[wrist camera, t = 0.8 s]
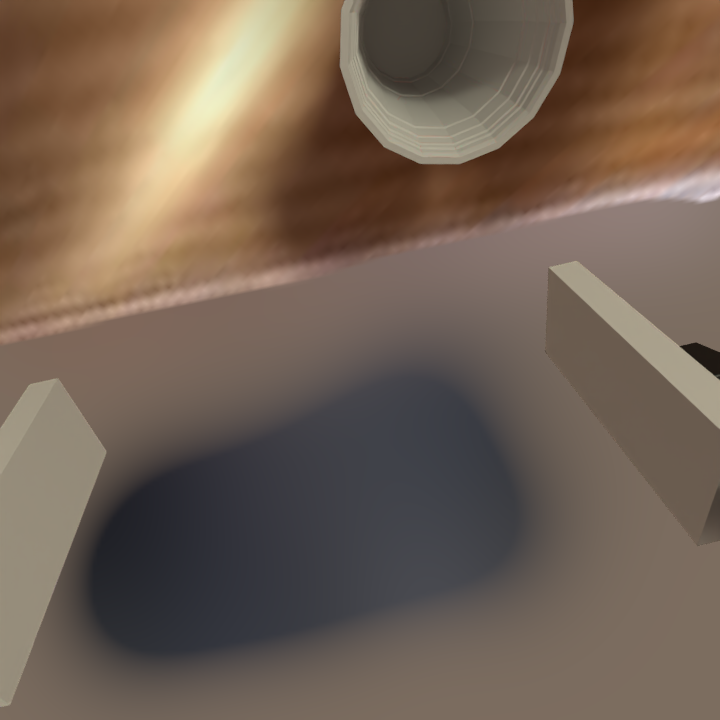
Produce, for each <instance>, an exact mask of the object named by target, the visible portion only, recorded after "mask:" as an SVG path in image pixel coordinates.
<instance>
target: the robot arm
mask: <svg viewBox="0 0 720 720" xmlns="http://www.w3.org/2000/svg"><path fill="white" fill-rule="evenodd" d="M545 352H546V354H547V355H548V356H549V358H550V359H551V360H552V361H553V362H554V364H555V365H556V367H557V368H558V369H559V370H560V372H561V373H562V374H563V375H564V377H565V378H566V379H567V381H568V382H569V383H570V384H571V386H572V387H573V388H574V389H575V391H576V392H577V393H578V394H579V396H580V397H581V398H582V400H583V401H584V402H585V403H586V405H587V406H588V407H589V409H590V410H591V411H592V412H593V414H594V415H595V416H596V417H597V419H598V420H599V421H600V423H601V424H602V425H603V426H604V428H605V429H606V430H607V431H608V433H609V434H610V435H611V437H612V438H613V439H614V440H615V442H616V443H617V444H618V445H619V447H620V448H621V449H622V450H623V452H624V453H625V454H626V456H627V457H628V458H629V459H630V461H631V462H632V463H633V465H634V466H635V467H636V468H637V470H638V471H639V472H640V473H641V475H642V476H643V477H644V478H645V480H646V481H647V482H648V484H649V485H650V486H651V487H652V489H653V490H654V491H655V493H656V494H657V495H658V496H659V498H660V499H661V500H662V501H663V503H664V504H665V505H666V507H667V508H668V509H669V510H670V512H671V513H672V514H673V515H674V517H675V518H676V519H677V521H678V522H679V523H680V524H681V526H682V527H683V528H684V529H685V531H686V532H687V533H688V535H689V536H690V537H691V538H692V540H693V541H694V542H695V543H696V545H697V546H699V545H703V544H708V543H712V542H716V541H720V352H717V351H715V350H713V349H710V348H708V347H705V346H703V345H701V344H698V343H692V344H688V345H683V346H678V345H677V344H676V343H675V342H673V341H672V340H671V339H670V338H669V337H667V336H666V335H665V334H664V333H663V332H661V331H660V330H659V329H658V328H657V327H655V326H654V325H653V324H652V323H651V322H649V321H648V320H647V319H646V318H645V317H643V316H642V315H641V314H640V313H639V312H637V311H636V310H635V309H634V308H633V307H631V306H630V305H629V304H628V303H627V302H626V301H624V300H623V299H622V298H620V296H618V295H617V294H616V293H615V292H614V291H612V290H611V289H610V288H609V287H608V286H606V285H605V284H604V283H603V282H602V281H600V280H599V279H598V278H597V277H596V276H594V275H593V274H592V273H591V272H590V271H588V270H587V269H586V268H585V267H584V266H582V265H581V264H580V263H579V262H578V261H574V262H570V263H566V264H561V265H557V266H552V267H549V270H548V297H547V322H546V347H545ZM106 452H107V451H106V450H105V448H104V447H103V445H102V444H101V442H100V441H99V439H98V438H97V436H96V435H95V433H94V432H93V430H92V429H91V427H90V426H89V424H88V423H87V421H86V420H85V418H84V417H83V415H82V414H81V412H80V411H79V409H78V407H77V406H76V404H75V403H74V401H73V400H72V398H71V397H70V395H69V394H68V392H67V391H66V389H65V388H64V386H63V385H62V383H61V382H60V380H59V379H58V378H56V379H52V380H47V381H43V382H38V383H34V384H30V385H29V386H28V387H27V389H26V390H25V392H24V393H23V395H22V396H21V398H20V399H19V401H18V402H17V404H16V405H15V407H14V408H13V410H12V411H11V413H10V414H9V416H8V418H7V419H6V421H5V422H4V424H3V425H2V427H1V428H0V707H3V706H7V705H10V704H11V701H12V698H13V696H14V693H15V690H16V688H17V685H18V682H19V680H20V677H21V674H22V672H23V670H24V667H25V664H26V662H27V659H28V657H29V654H30V651H31V649H32V646H33V643H34V641H35V638H36V636H37V633H38V630H39V628H40V625H41V623H42V620H43V617H44V615H45V612H46V609H47V607H48V604H49V602H50V599H51V596H52V594H53V591H54V589H55V586H56V583H57V581H58V578H59V575H60V573H61V570H62V568H63V565H64V562H65V560H66V557H67V555H68V552H69V549H70V547H71V544H72V541H73V539H74V536H75V533H76V531H77V528H78V526H79V523H80V521H81V518H82V515H83V513H84V510H85V507H86V505H87V502H88V500H89V497H90V494H91V492H92V489H93V487H94V484H95V481H96V478H97V476H98V473H99V471H100V468H101V465H102V463H103V460H104V458H105V455H106Z"/></svg>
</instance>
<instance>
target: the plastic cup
mask: <svg viewBox="0 0 720 720" xmlns="http://www.w3.org/2000/svg"><path fill="white" fill-rule="evenodd" d="M573 23H574V16H573V0H345V1H344V4H343V6H342V9H341V39H340V69H341V72H342V75H343V78H344V81H345V84H346V87H347V90H348V93H349V96H350V99H351V102H352V105H353V108H354V111H355V114H356V115H357V116H358V117H359V119H360V120H361V121H362V122H363V123H364V124H365V126H366V127H367V128H368V129H369V130H370V131H371V133H372V134H373V135H374V136H375V137H376V138H377V140H378V141H379V142H380V143H381V144H382V145H383V147H385V148H387V149H389V150H391V151H393V152H395V153H398V154H400V155H402V156H404V157H406V158H408V159H411V160H413V161H415V162H417V163H419V164H461V163H464V162H466V161H469V160H471V159H474V158H476V157H479V156H481V155H484V154H486V153H489V152H491V151H494V150H496V149H498V148H500V147H501V146H502V145H503V144H504V143H505V142H507V141H508V140H509V139H510V138H511V137H512V136H513V135H515V134H516V133H517V132H518V131H519V130H520V129H521V128H522V127H524V126H525V125H526V124H527V123H528V122H529V121H530V120H532V119H533V118H534V116H535V115H536V113H537V111H538V110H539V108H540V106H541V105H542V103H543V101H544V100H545V98H546V97H547V95H548V93H549V92H550V90H551V88H552V87H553V85H554V83H555V82H556V80H557V78H558V77H559V75H560V73H561V69H562V65H563V61H564V57H565V54H566V50H567V46H568V42H569V38H570V34H571V30H572V27H573Z"/></svg>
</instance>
